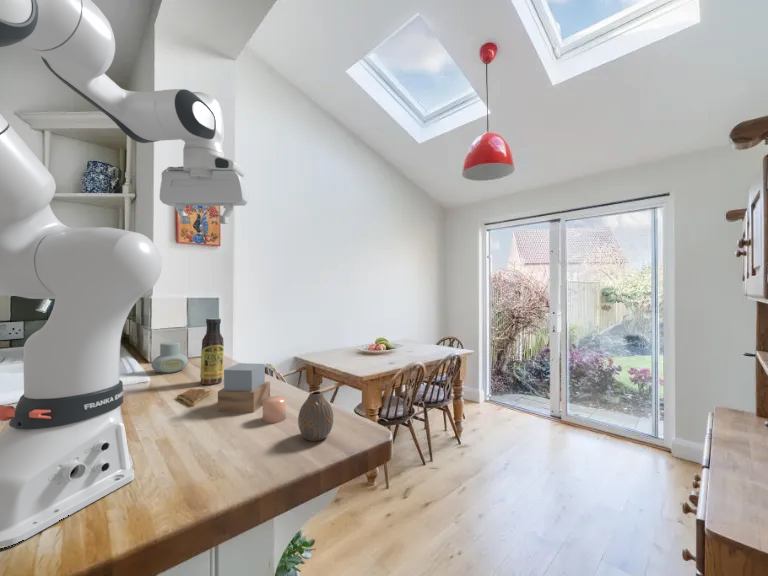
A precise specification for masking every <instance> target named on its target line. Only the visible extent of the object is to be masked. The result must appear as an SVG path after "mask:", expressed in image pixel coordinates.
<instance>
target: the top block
mask: <svg viewBox="0 0 768 576" xmlns="http://www.w3.org/2000/svg"><path fill="white" fill-rule="evenodd" d="M265 365H266V364H265V363H251V362H250V363H249V362H247V363H244V362H243V363H241V362H240V363H239V362H238V363H237V364H234V365H232V366H229V367H227V368H225V369H223V388H224V391H253V390H255V389H256V388H258V387H259V386H261V385H262V384H264V383H265V382H266V372H265V370H266V369H265V367H266V366H265Z"/></svg>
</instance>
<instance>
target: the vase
mask: <svg viewBox="0 0 768 576" xmlns="http://www.w3.org/2000/svg"><path fill="white" fill-rule="evenodd" d="M334 418H335V417H334V411H333V408H332V406H331V404H330V402H329V401H328V400H327V399H326V398H325V396H324V394H323V392H322V391H320V390H319V391H318V390H317V391H311V392H310V393H309V394H308V397H307V398H306V400H305V401H304V402H303V404H302V405H301V407H300V409H299V413H298V416H297V422H298V424H297V426H298V429H299V433H300V434H301V436H303V438H305V439H306V440H307V441H309V440H310V441H311V442H318V440H319V441H322V440H324V439H325V438H327V437H328V435H329V434H330V433H331V431H332V429H333V426H334V420H335V419H334Z"/></svg>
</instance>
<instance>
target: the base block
mask: <svg viewBox="0 0 768 576" xmlns="http://www.w3.org/2000/svg"><path fill="white" fill-rule="evenodd" d="M270 396H271V381H265V383H264V384H262V385H261V386H259V387H258V388H256V389H255V390H253V391H224V387H223V388H221V389H220V390H218V391H217V411H218V412H229V411H230V412H232V413H233V412H234V413H235V412H236V413H238V412H239V413H255V412H256V411H257V410H259V409H260V408H262V407H263V399H264V398H267V397H270Z"/></svg>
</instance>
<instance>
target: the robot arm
mask: <svg viewBox="0 0 768 576" xmlns="http://www.w3.org/2000/svg"><path fill="white" fill-rule="evenodd" d="M19 42H20V43H22V44H23V45H24V46H25V47H27V48H28V49H31V50H32V51H33V52H35V53H36V54H38V55H39V56H40V57H41V59H42V62H43V63H44V66H46V68H47V69H48V70H49V71H50V72H51V73H52V74H53V75H54V76H55V77H56V78H57V79H58V80H60V81H61V82H62V83H63V84H65V85H66V86H67V87H68V88H70V89H71V90H72V91H74V92H75V93H76V94H78V95H79V96H80V97H81V98H83V99H85V100H86V101H87V102H88V103H90V104H91V105H92V106H94V108H95V107H96V108H97V109H98V110H99V111H101V112H102V113H103V114H104V115H106V116H107V117H109V119H111V120H112V121H113V122H114V123H115V124H116V126H117V127H118V128H119V129H120V130H121V131H122V132H123V133H124V134H125V136H127V137H129V138H130V139H131V140H133V141H135V142H136V143H140V144H149V143H155V142H159V141H161V142H162V141H176V140H177V141H178V140H181V141H183V142H184V146H183V149H182V150H183V151H182V152H183V153H182V154H183V157H182V160H183V161H182V163H183V166H168V167H167V168H164V170H162V171H161V182H160V188H159V200H160V202H161V203H162V204H164V205H166V206H170V207H174V208H175V210H176V212H177V215H178V216H180V217H179V220H180V221H179V222H180V224H181V225H191V217H190V216H188V215H187V214H186V212H185V211H186V210H187V207H204V206H205V207H208V206H210V207H214V206H215V207H217V206H218V207H221V206H222V207H223V209H225V210H224V211H223V213H222V214H221V215H218V217H219V218H218V219H219V220H218V222H219V224H222V225H229V220H230V219H229V218H230V216H231V214H232V213H233V211H234V207H235V206H236V207H237V206H241V207H242V206H246V205H247V204H248V203H249V188H248V183H247V180H246V179H245V178H244V177H245V169H244V168H243V167H242V166H241V165H240V164H238V163H237V162H235V161H234V160H232V159H228V158H225V153H224V150H223V149H224V147H223V144H224V143H225V122H224V117H223V116H224V115H223V110H222V108H221V104H220V103H219V101H218V100H217V99H215V98H214V97H213V96H212V95H209V94H208V93H205V92H201V91H193V92H192V91H190V90H188V89H185V88H182V89H181V88H173V89H170V88H169V89H161V90H152V91H133V90H126V89H124V88H122V87H120V86H119V85H118V84H117V83H115V81H114V80H112V79H111V78H110V77H109V76H108V75H107V74H106V72H107V71H108V70H109V69H110V66H111V65H112V64H113V61H114V57H115V54H116V39H115V34H114V30H113V29H112V26H111V22H110V21H109V19H108V18H107V17H106V16H105V14H104V13H103V11H102V10H101V9H100V8H99V7H98V6H97V5H96V4H95V3H94V2H93V1H92V0H0V48H3V47H4V48H5V47H9V46H12V45H15V44H17V43H19ZM56 189H57V185H56V180H55V178H54V176H53V174H52V173H50V171H49V170H48V169H47V167H46V166H45V165H44V164H43V162H41V160H40V159H39V158H38V156H36V154H35V153H34V152H33V151H32V149H31V148H30V147H29V146H28V144H27V143H26V142H25V141H24V140H23V139H22V137H21V136H20V135H19V134H18V133H17V131H16V130H15V129H14V127H12V126H11V124H10V123H9V122H8V121H7V119H6V118H4V116H3V115H2V114H1V113H0V293H3V294H7V295H11V296H14V297H15V296H16V297H20V298H24V299H33V300H39V299H40V300H45V299H46V300H48V299H49V300H51V299H52V300H54V303H53V305H52V306H53V308H52V310H51V313H50V315H49V317H48V319H47V321H46V322H45V324H44V325H43V326H42V327H41V328H40V329H39V330H37V331H35V332H34V333H32V334H31V335H30V336H29V337H28V338H26V341H25V342H24V345H23V348H22V349H23V353H22V354H23V394H22V395H21V396H19V397H20V398H19V399H18V401H17V403H16V406H13V405H0V421H1V422H6V421H9V423H8V426H9V427H8V428H6V429H5V431H3V433H1V434H0V546H1V547H2V546H10V545H13V544H15V543H18V542H19V541H22V540H24V541H26V540H28V539H30V538H31V537H33V536H34V535H36V534H38V533H40V532H42V531H43V530H45V529H47V528H49V527H51V526H53V525H54V524H56V523H58V522H60V521H61V519H62V520H63V518H64V519H66V518H67V517H69V516H71V515H72V514H74V513H76V512H78V511H80V510H82V509H84V508H85V507H87V506H89V505H91V504H92V503H94V502H97V501H98V500H99V499H101V498H102V497H105V496H107V495H109V494H110V493H112V492H114V491H116V490H118V489H119V488H121V487H123V486H125V485H126V484H129V483H130V482H132V481H134V480H135V471H134V469H133V464H134V462H133V459H132V456H131V454H130V451H129V447H128V441H127V433H126V428H125V424H124V419H123V415H122V410H121V409H122V407H121V405H122V404H124V394H125V392H124V387H123V386H124V384H123V383H124V382H123V381H122V380H121V379H120V364H121V363H120V360H121V359H120V358H121V357H120V356H121V341H122V334H123V330H124V326H125V323H126V321H127V318H128V317H129V314H130V312H131V310H132V308H133V307H134V306H135V304H136V303H137V302H138V301H139V300H140V298H142V296H144V295H145V294H146V293H147V292H149V291H150V290H151V289H153V288H154V287H155V285H156V284H157V282H158V280H160V279H159V278H160V275H161V272H162V266H163V265H162V258H161V254H160V252H159V249H158V248H157V246H156V245H155V243H154V242H153V241H152V239H150V238H149V237H147V236H146V235H145V234H142V233H141V232H135V231H130V230H127V229H121V228H114V227H107V226H106V227H105V226H103V227H100V226H99V227H97V226H96V227H69V226H67V225H65V224H64V223H62V222H61V221H60V220H59V219H58V218H57V217H56V215H55V214H54V212H53V209H52V208H51V205H50V203H51V202H52V200H53V198H54V197H55V194H56V192H57V190H56ZM68 515H69V516H68ZM59 520H60V521H59ZM22 542H23V541H22ZM18 544H19V543H18ZM13 546H14V545H13ZM10 547H11V546H10Z"/></svg>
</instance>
